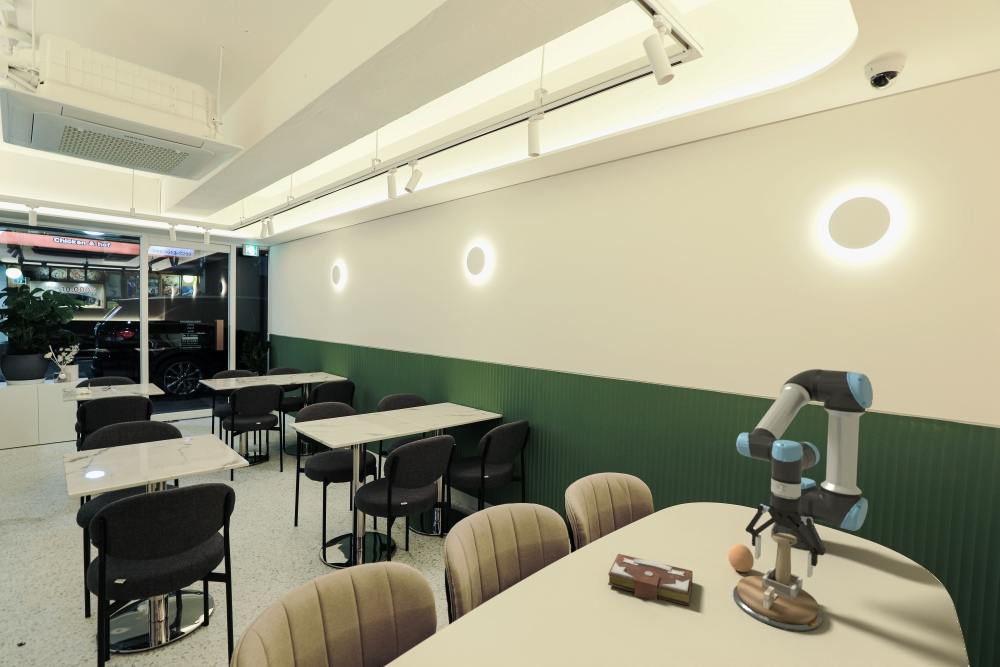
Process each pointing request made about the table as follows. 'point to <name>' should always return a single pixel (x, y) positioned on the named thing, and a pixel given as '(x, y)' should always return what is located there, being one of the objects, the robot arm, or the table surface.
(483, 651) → the table surface
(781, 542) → the handle
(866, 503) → the robot arm
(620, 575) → the book
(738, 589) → the dial
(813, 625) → the base
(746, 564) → the egg
